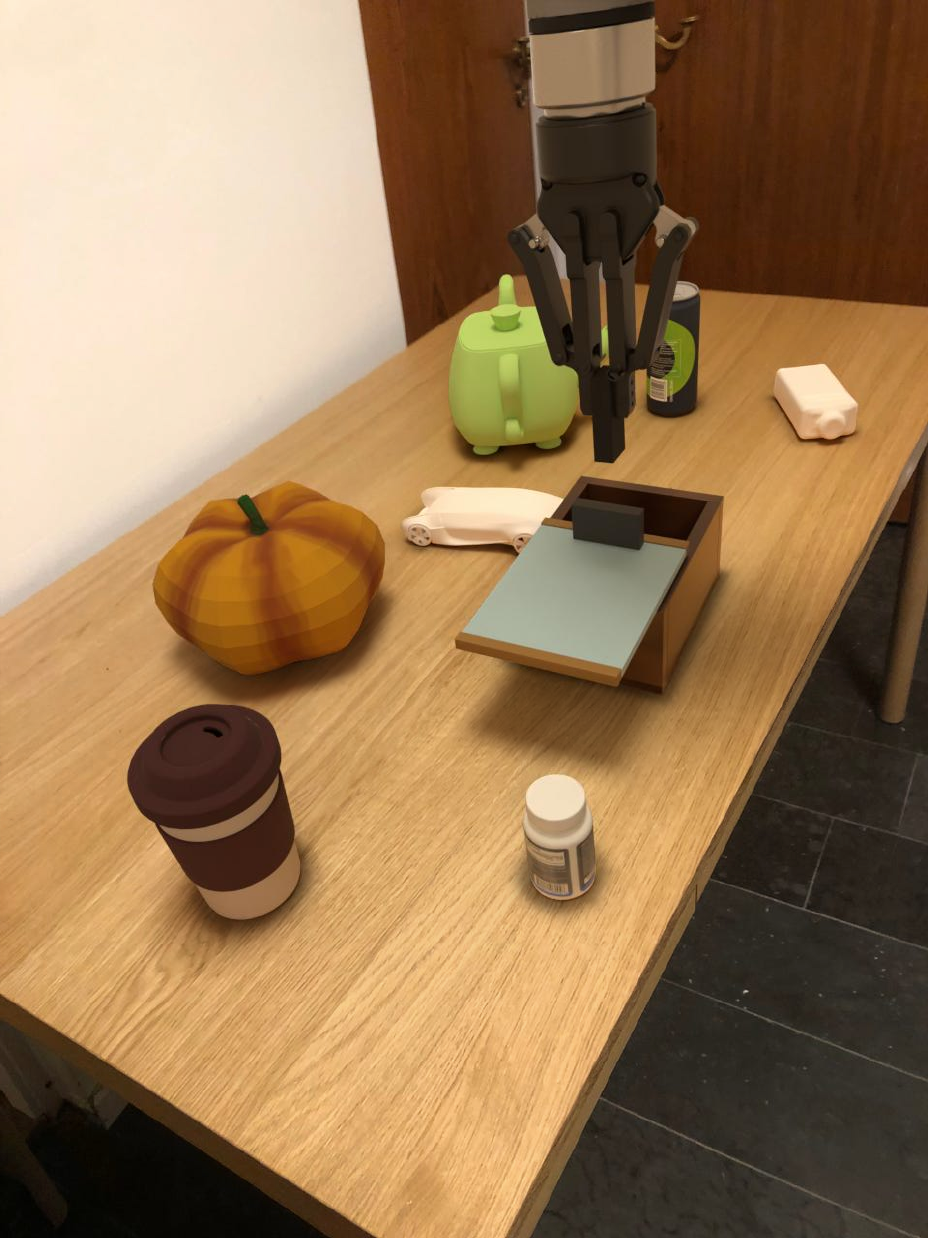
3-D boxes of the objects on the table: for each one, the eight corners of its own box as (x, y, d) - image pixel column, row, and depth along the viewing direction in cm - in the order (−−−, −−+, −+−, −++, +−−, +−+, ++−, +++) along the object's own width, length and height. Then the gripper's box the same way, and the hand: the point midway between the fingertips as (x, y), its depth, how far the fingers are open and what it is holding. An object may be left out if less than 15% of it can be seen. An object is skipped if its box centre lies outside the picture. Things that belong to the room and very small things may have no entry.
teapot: (634, 463, 112) (633, 332, 102) (451, 479, 114) (433, 353, 104) (612, 372, 131) (610, 255, 122) (456, 388, 133) (441, 274, 123)
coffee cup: (202, 962, 66) (129, 821, 57) (175, 859, 74) (108, 720, 64) (336, 903, 69) (288, 758, 59) (298, 809, 76) (250, 668, 67)
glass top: (689, 550, 81) (690, 507, 79) (617, 687, 69) (616, 641, 67) (545, 526, 87) (542, 485, 84) (455, 648, 75) (448, 605, 72)
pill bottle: (575, 837, 71) (569, 759, 66) (608, 884, 67) (605, 806, 62) (517, 863, 70) (507, 785, 64) (548, 912, 66) (540, 834, 61)
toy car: (400, 544, 104) (393, 509, 101) (426, 506, 110) (420, 471, 107) (561, 561, 98) (558, 524, 95) (579, 519, 104) (578, 483, 101)
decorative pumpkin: (145, 697, 89) (87, 566, 80) (240, 560, 106) (201, 438, 96) (349, 714, 84) (312, 576, 75) (415, 567, 100) (392, 438, 91)
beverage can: (703, 413, 119) (708, 294, 110) (654, 421, 119) (655, 303, 110) (687, 392, 124) (690, 276, 115) (640, 400, 124) (640, 285, 115)
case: (719, 575, 93) (724, 495, 88) (662, 695, 81) (663, 612, 76) (584, 551, 99) (580, 475, 94) (512, 659, 87) (503, 580, 82)
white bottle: (802, 448, 110) (806, 415, 107) (772, 399, 120) (775, 367, 117) (860, 442, 110) (865, 408, 107) (825, 393, 120) (829, 361, 117)
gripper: (715, 88, 60) (709, 441, 72) (524, 104, 65) (550, 429, 78) (679, 107, 54) (679, 485, 67) (475, 123, 60) (511, 468, 73)
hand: (609, 454), depth 73 cm, fingers closed
